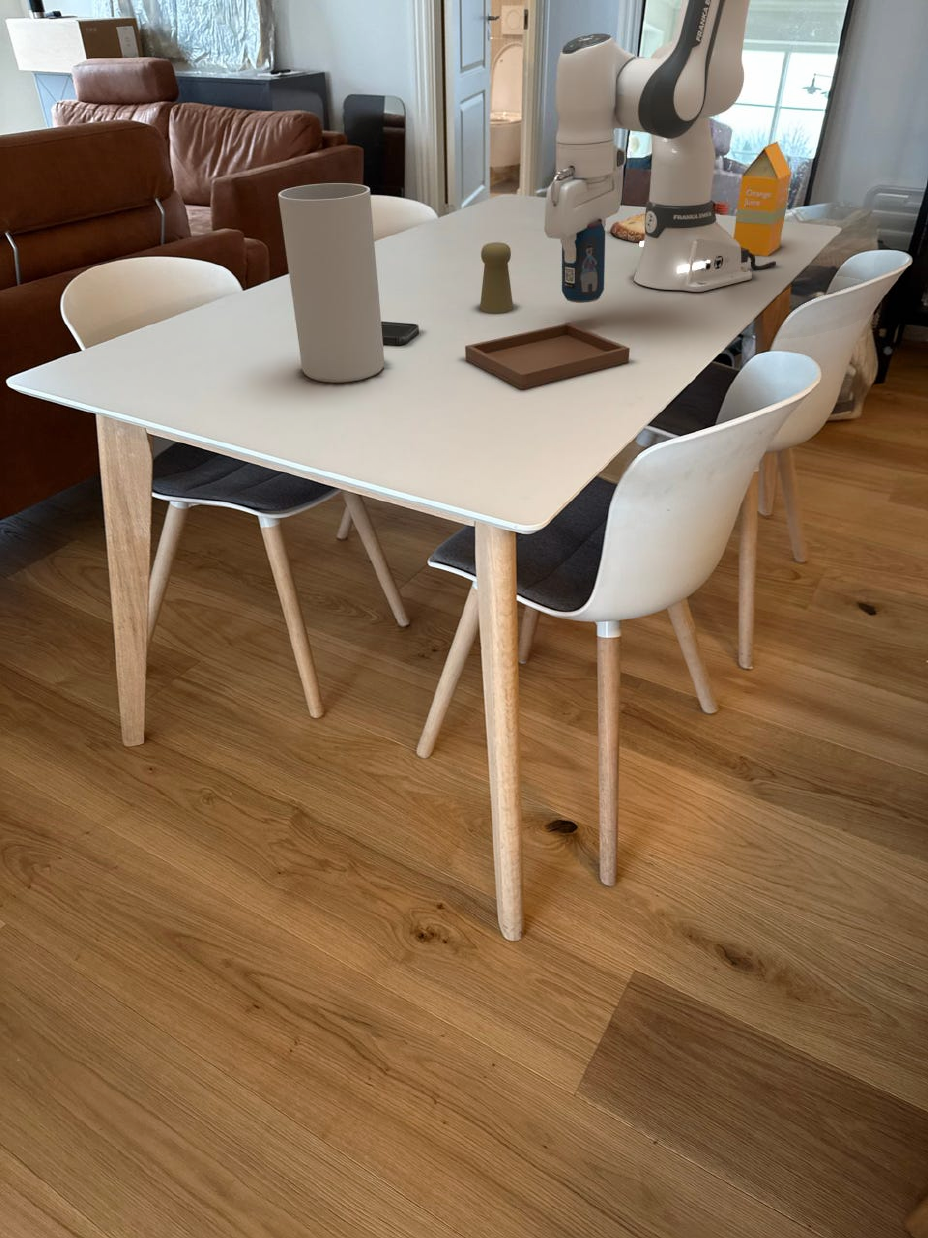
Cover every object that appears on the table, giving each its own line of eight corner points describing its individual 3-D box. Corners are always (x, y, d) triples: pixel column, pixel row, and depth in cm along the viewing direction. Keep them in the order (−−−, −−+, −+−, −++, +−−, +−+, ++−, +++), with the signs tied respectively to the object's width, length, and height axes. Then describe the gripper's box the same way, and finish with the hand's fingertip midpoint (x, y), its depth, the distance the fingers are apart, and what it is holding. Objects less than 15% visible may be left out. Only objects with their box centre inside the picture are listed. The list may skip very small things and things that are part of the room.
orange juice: (780, 246, 193) (797, 141, 181) (767, 256, 187) (784, 147, 175) (744, 243, 196) (758, 139, 185) (730, 252, 190) (744, 145, 179)
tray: (567, 336, 148) (568, 322, 147) (628, 362, 137) (629, 347, 136) (465, 359, 140) (464, 345, 139) (521, 389, 129) (521, 374, 128)
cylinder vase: (351, 389, 131) (331, 203, 117) (285, 375, 136) (259, 196, 122) (400, 363, 139) (388, 186, 125) (337, 351, 145) (318, 180, 131)
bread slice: (700, 244, 196) (702, 226, 194) (617, 247, 197) (618, 228, 194) (685, 226, 211) (687, 209, 209) (607, 229, 211) (608, 211, 209)
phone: (403, 338, 145) (319, 331, 150) (403, 345, 146) (320, 338, 150) (420, 324, 152) (340, 317, 156) (421, 330, 152) (340, 324, 156)
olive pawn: (510, 313, 159) (510, 247, 153) (476, 312, 160) (475, 247, 154) (515, 303, 164) (515, 239, 158) (483, 302, 165) (481, 238, 159)
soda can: (580, 289, 154) (581, 213, 147) (612, 295, 150) (614, 218, 143) (553, 299, 151) (552, 222, 144) (585, 306, 146) (586, 227, 139)
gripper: (571, 174, 130) (571, 273, 138) (631, 150, 144) (627, 242, 152) (533, 172, 133) (535, 270, 141) (595, 149, 147) (593, 239, 155)
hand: (583, 255), depth 146 cm, fingers closed on soda can, 7 cm apart
